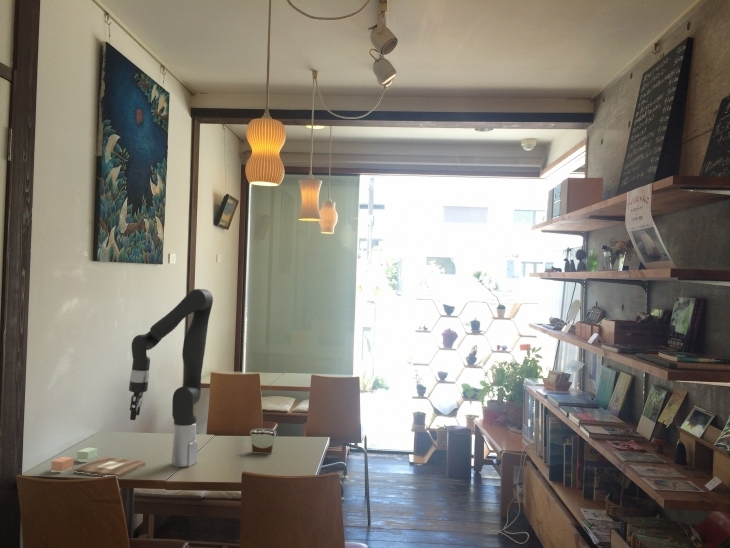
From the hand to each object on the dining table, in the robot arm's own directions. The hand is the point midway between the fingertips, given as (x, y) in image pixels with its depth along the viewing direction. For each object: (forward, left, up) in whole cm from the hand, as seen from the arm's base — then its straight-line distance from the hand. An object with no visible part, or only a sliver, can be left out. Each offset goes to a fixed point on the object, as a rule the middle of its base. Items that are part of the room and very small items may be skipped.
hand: (134, 417), depth 230 cm
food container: (-48, -30, -19) cm, 60 cm away
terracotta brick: (+18, +20, -19) cm, 33 cm away
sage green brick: (+18, +6, -19) cm, 27 cm away
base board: (+1, +13, -18) cm, 22 cm away
